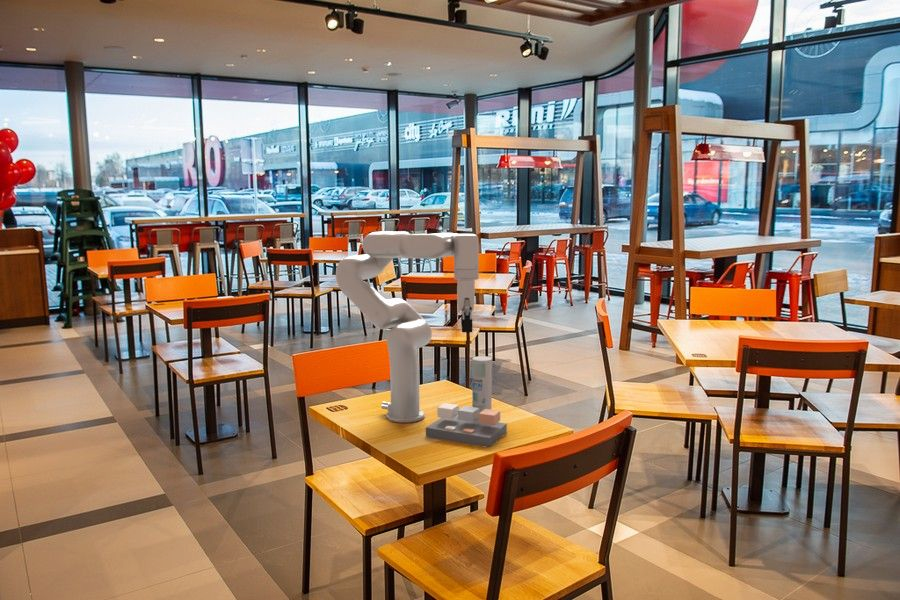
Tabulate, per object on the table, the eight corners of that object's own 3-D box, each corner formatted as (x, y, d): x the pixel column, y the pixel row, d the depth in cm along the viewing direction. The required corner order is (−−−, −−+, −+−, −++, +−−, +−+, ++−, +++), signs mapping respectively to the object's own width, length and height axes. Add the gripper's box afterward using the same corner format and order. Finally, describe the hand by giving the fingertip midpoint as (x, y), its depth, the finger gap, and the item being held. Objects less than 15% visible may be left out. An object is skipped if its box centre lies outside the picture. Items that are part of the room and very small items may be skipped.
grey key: (457, 419, 212) (457, 410, 211) (464, 415, 216) (464, 405, 216) (472, 421, 210) (472, 412, 209) (479, 417, 214) (479, 407, 214)
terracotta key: (478, 422, 209) (478, 413, 208) (485, 418, 213) (485, 408, 213) (494, 425, 207) (494, 415, 206) (500, 420, 211) (500, 410, 211)
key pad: (425, 437, 211) (425, 425, 210) (445, 423, 223) (445, 412, 223) (489, 447, 202) (489, 435, 201) (506, 432, 214) (506, 421, 214)
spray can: (495, 416, 230) (496, 358, 227) (482, 421, 225) (483, 361, 222) (480, 412, 234) (481, 355, 231) (468, 417, 229) (468, 358, 226)
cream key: (437, 416, 215) (437, 407, 214) (444, 412, 219) (444, 403, 219) (451, 418, 213) (451, 409, 212) (458, 414, 217) (458, 405, 217)
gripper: (453, 271, 220) (454, 324, 222) (454, 277, 203) (454, 334, 205) (477, 271, 220) (477, 324, 222) (479, 277, 203) (480, 334, 205)
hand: (466, 329), depth 214 cm, fingers open, 9 cm apart
